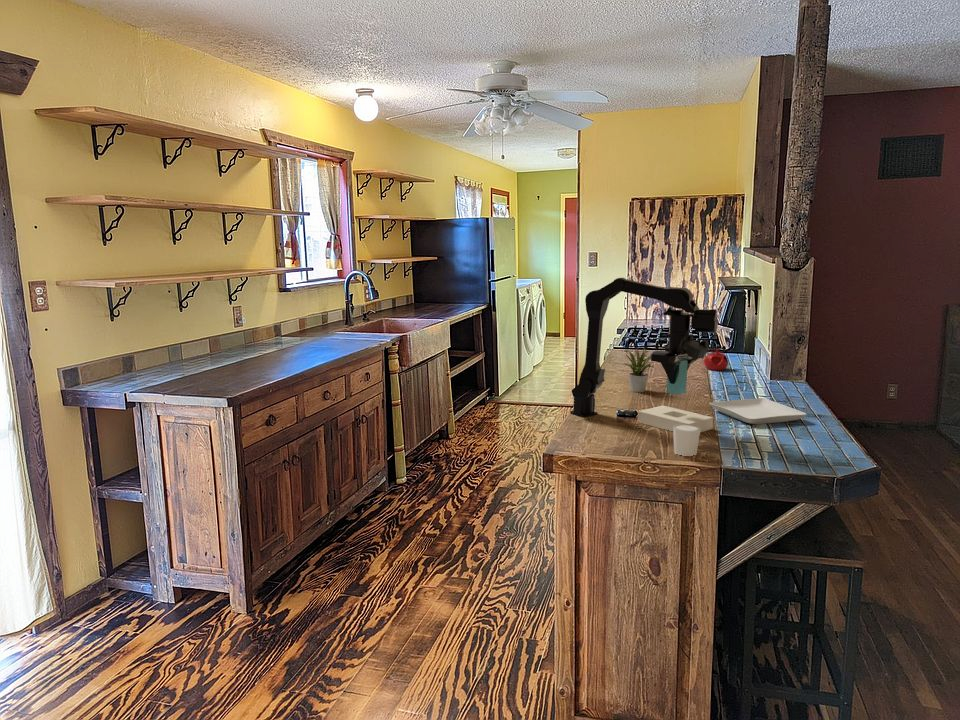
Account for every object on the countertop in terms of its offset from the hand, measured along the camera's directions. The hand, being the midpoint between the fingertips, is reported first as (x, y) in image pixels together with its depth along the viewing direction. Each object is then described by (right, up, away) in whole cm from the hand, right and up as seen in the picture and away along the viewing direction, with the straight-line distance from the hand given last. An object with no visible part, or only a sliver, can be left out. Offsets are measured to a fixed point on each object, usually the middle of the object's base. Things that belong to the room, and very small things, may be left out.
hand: (676, 382), depth 197 cm
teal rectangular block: (0, -3, +1) cm, 3 cm away
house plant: (0, -5, +47) cm, 47 cm away
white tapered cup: (-5, -18, -24) cm, 30 cm away
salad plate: (+29, -12, +13) cm, 34 cm away
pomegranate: (+44, +2, +90) cm, 100 cm away
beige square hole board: (0, -13, +2) cm, 13 cm away
